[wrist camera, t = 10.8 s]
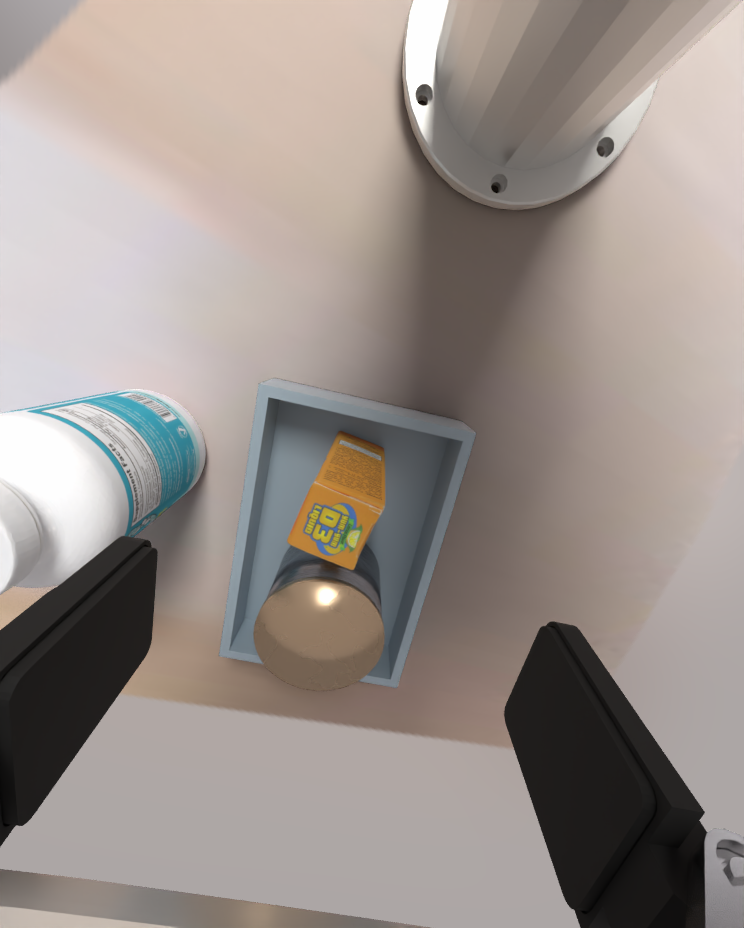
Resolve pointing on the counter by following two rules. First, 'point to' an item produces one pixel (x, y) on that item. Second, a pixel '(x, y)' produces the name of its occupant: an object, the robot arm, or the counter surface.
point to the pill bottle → (88, 478)
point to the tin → (321, 621)
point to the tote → (393, 536)
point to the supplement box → (342, 502)
